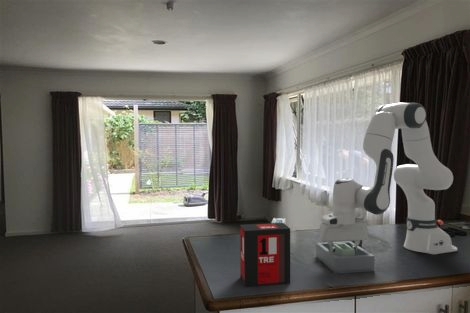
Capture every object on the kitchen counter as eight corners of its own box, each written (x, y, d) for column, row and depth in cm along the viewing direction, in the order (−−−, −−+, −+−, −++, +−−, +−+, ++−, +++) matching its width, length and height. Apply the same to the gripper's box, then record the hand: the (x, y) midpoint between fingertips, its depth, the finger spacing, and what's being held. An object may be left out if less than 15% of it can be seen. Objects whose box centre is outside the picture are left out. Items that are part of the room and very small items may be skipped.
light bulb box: (285, 244, 175) (284, 223, 174) (271, 244, 176) (271, 222, 175) (286, 238, 185) (286, 218, 184) (273, 238, 186) (273, 217, 186)
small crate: (344, 257, 153) (344, 243, 153) (354, 264, 144) (354, 249, 144) (333, 257, 152) (333, 243, 152) (342, 265, 144) (342, 250, 143)
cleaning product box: (245, 287, 126) (244, 230, 125) (240, 277, 135) (240, 224, 133) (290, 283, 128) (290, 228, 127) (283, 274, 137) (282, 222, 136)
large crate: (350, 254, 159) (350, 241, 159) (374, 271, 140) (374, 255, 139) (316, 256, 157) (316, 242, 157) (335, 273, 137) (335, 258, 137)
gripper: (363, 215, 152) (363, 247, 153) (317, 217, 149) (317, 250, 150) (371, 218, 146) (371, 252, 147) (323, 220, 143) (323, 255, 144)
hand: (343, 251), depth 148 cm, fingers open, 8 cm apart
